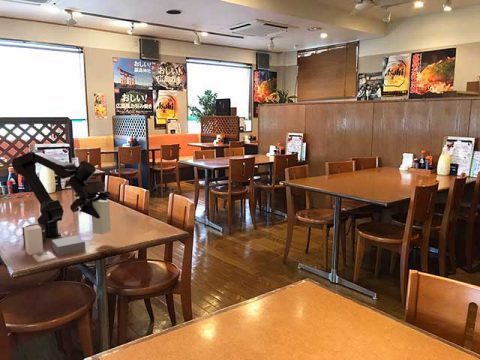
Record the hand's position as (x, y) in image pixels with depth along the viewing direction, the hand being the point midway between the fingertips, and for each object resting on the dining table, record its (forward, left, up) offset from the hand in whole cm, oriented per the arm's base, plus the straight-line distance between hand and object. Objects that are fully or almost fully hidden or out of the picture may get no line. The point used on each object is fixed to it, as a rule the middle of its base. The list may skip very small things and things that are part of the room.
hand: (103, 216), depth 158 cm
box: (-21, -22, -12) cm, 33 cm away
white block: (-9, -25, -12) cm, 29 cm away
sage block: (-1, -1, -7) cm, 7 cm away
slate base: (-3, -14, -12) cm, 19 cm away
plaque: (0, -24, -12) cm, 26 cm away
